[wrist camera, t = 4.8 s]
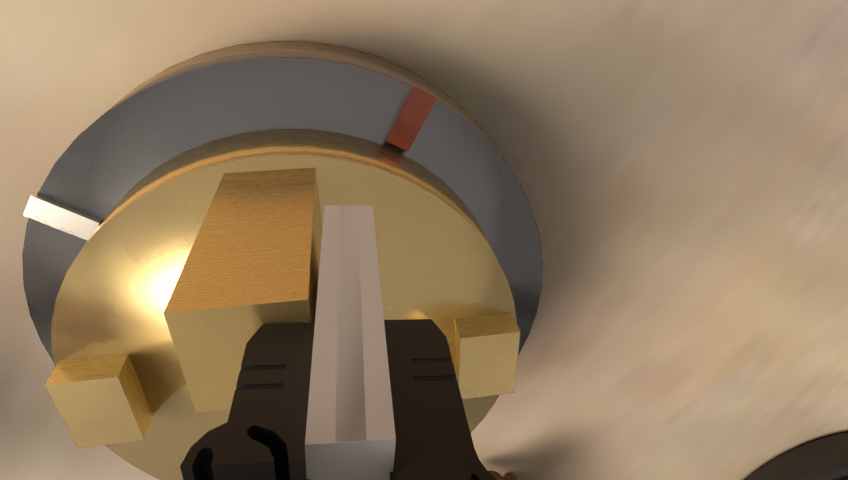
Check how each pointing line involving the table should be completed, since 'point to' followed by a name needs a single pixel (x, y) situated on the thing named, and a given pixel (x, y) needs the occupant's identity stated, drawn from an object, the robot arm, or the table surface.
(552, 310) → the table surface
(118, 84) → the table surface
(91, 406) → the gold lug disc
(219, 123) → the base
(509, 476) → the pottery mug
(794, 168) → the table surface
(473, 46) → the table surface
